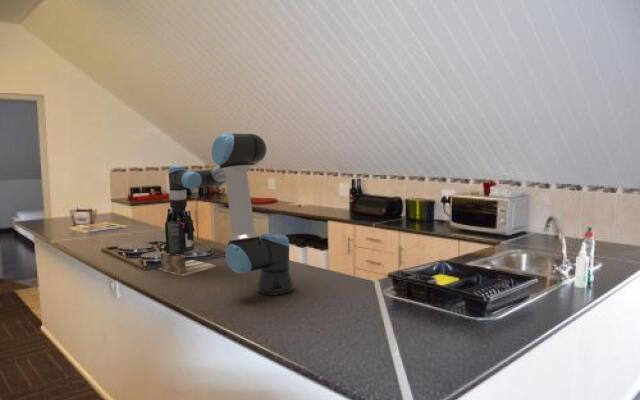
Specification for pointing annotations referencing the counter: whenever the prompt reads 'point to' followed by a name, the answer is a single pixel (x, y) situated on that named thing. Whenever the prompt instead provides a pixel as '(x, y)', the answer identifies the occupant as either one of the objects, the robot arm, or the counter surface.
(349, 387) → the counter surface
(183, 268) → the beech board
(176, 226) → the tampon box
